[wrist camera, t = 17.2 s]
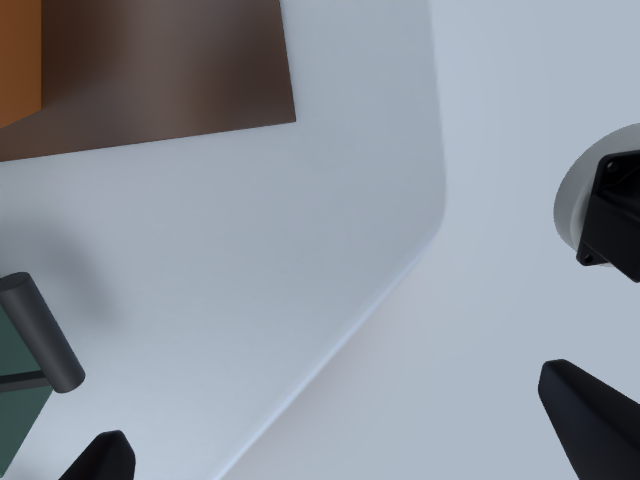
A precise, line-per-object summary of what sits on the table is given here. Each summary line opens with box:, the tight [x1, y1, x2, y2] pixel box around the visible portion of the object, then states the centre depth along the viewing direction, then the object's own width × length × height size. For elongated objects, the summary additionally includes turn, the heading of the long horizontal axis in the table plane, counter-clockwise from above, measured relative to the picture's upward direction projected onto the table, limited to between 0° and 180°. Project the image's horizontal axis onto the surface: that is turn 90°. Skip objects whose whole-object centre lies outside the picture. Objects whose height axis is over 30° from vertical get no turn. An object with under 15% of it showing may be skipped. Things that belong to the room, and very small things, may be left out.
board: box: [0, 0, 296, 162], centre depth 16 cm, size 14×10×1 cm
